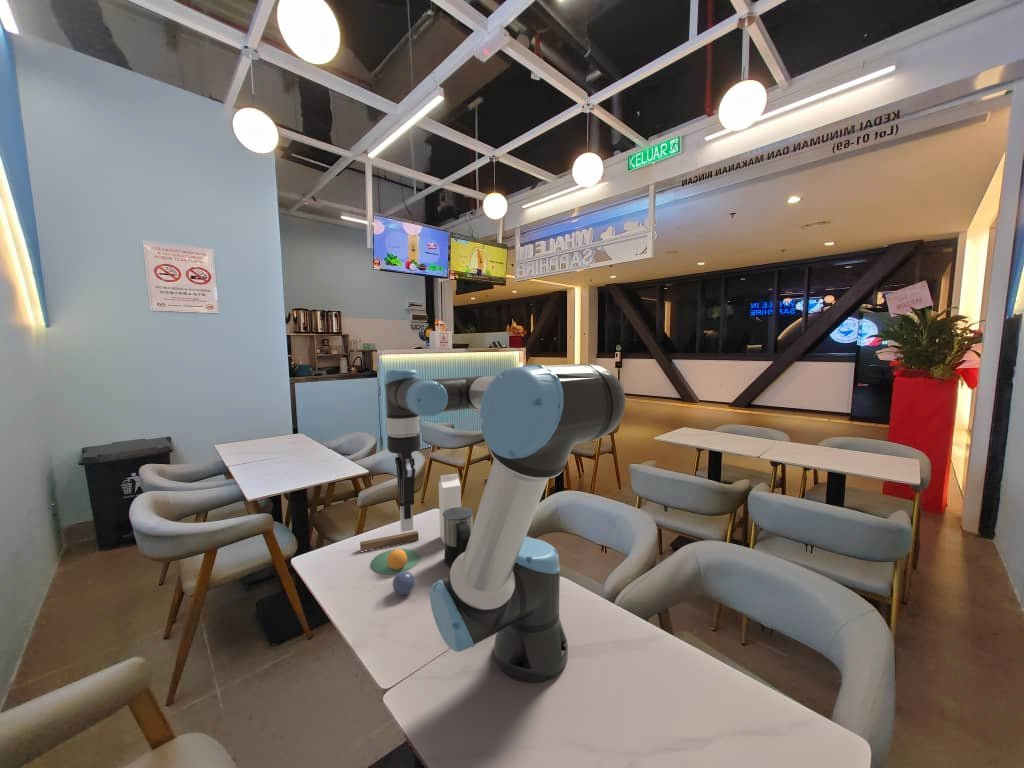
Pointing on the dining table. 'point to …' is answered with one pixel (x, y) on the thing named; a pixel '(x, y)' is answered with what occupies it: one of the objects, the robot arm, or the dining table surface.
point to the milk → (448, 497)
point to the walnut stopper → (389, 541)
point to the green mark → (382, 566)
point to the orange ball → (397, 559)
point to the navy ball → (403, 583)
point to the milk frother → (456, 532)
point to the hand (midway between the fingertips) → (406, 529)
